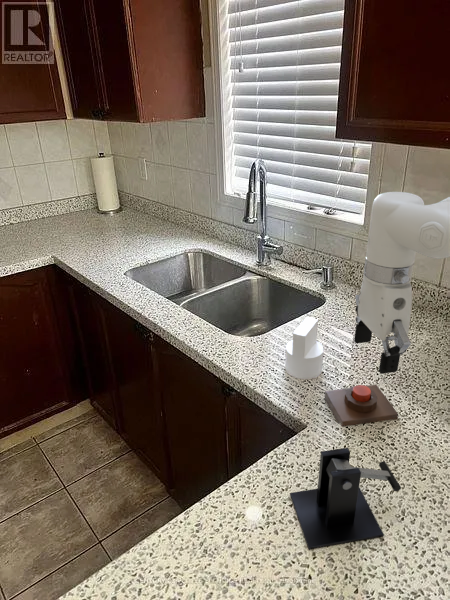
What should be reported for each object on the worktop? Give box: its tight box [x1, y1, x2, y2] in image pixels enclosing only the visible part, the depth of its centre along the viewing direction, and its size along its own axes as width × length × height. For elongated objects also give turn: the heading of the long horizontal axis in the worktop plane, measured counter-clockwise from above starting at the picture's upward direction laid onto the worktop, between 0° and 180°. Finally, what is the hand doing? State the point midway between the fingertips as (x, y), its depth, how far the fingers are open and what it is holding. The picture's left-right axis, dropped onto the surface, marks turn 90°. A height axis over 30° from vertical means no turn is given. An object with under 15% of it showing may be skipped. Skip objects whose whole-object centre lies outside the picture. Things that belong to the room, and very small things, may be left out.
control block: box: [324, 384, 399, 427], centre depth 95 cm, size 12×10×4 cm
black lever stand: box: [289, 447, 385, 551], centre depth 70 cm, size 12×10×13 cm
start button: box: [352, 384, 371, 402], centre depth 94 cm, size 4×4×2 cm
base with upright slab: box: [284, 316, 325, 380], centre depth 107 cm, size 9×9×12 cm
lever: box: [326, 458, 402, 492], centre depth 69 cm, size 11×5×2 cm, turn 100°
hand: (374, 356), depth 81 cm, fingers open, 9 cm apart
